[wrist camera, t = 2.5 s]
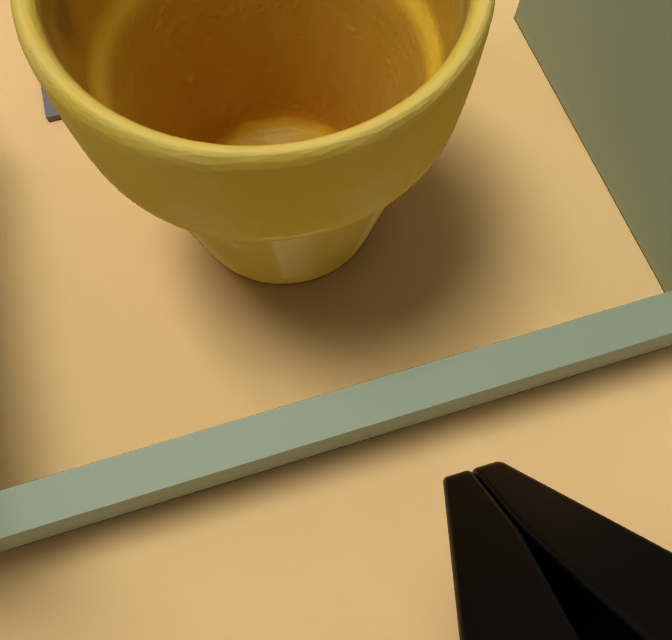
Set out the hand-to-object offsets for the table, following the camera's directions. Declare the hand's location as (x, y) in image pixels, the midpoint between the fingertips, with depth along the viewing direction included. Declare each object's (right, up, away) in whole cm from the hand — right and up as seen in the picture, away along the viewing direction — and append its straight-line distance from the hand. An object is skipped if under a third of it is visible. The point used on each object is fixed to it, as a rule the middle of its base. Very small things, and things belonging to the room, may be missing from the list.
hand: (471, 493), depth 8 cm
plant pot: (-4, +7, +13) cm, 15 cm away
